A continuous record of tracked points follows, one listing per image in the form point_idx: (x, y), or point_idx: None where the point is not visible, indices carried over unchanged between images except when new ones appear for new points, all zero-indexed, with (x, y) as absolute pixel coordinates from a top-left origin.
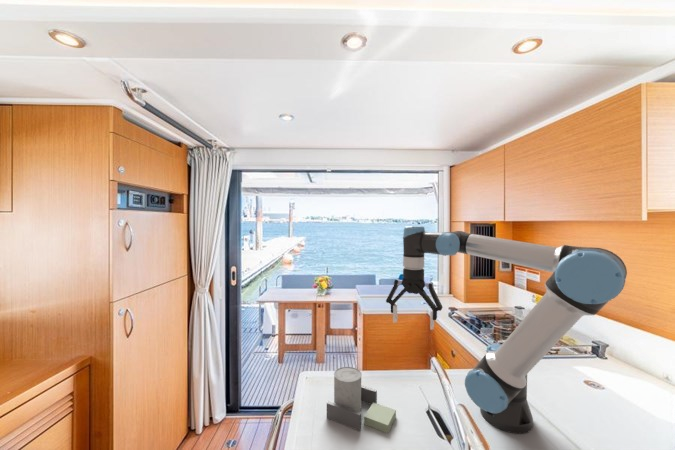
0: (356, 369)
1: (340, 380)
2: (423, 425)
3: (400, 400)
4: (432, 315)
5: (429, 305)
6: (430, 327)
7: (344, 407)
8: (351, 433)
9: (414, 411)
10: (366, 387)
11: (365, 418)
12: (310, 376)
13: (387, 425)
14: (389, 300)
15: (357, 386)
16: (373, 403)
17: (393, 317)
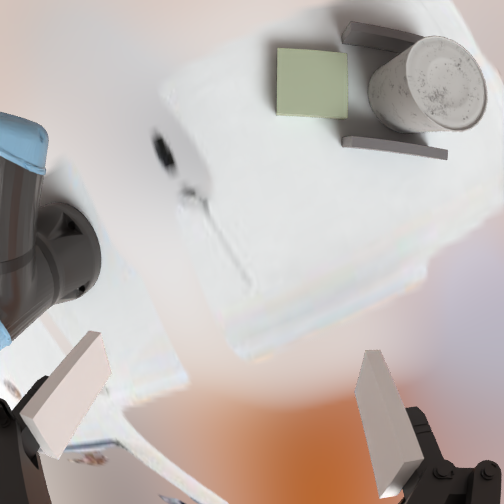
0: (439, 124)
1: (449, 39)
2: (202, 121)
3: (284, 192)
4: (36, 393)
5: (16, 461)
6: (92, 340)
7: (399, 37)
8: None
9: (236, 163)
10: (385, 147)
11: (342, 53)
12: None
13: (278, 48)
14: (473, 487)
15: (399, 61)
16: (345, 113)
17: (388, 376)
